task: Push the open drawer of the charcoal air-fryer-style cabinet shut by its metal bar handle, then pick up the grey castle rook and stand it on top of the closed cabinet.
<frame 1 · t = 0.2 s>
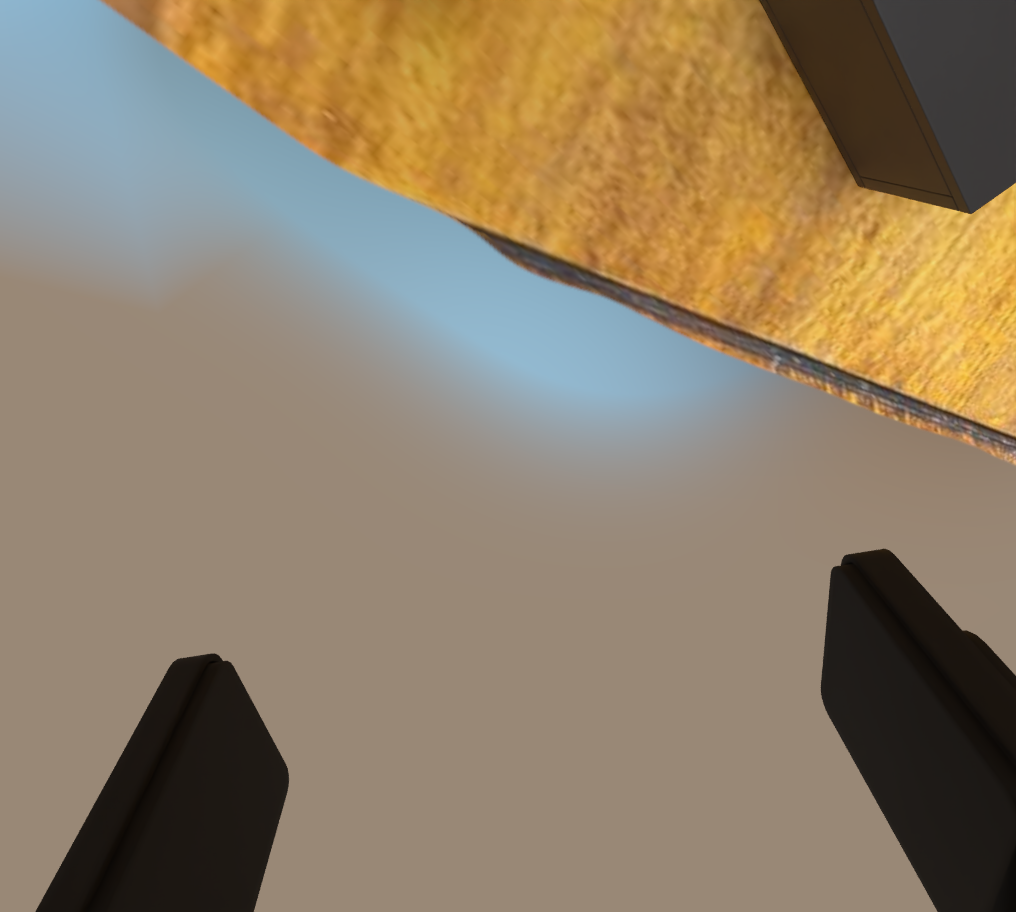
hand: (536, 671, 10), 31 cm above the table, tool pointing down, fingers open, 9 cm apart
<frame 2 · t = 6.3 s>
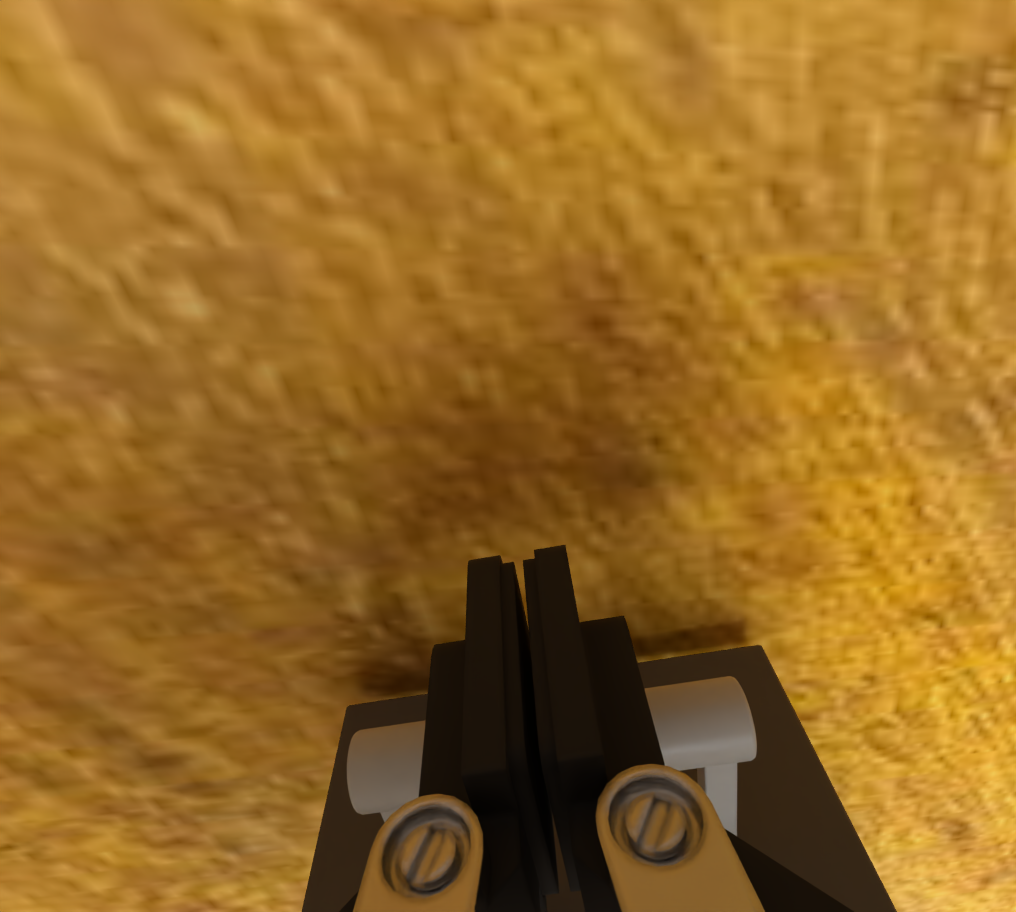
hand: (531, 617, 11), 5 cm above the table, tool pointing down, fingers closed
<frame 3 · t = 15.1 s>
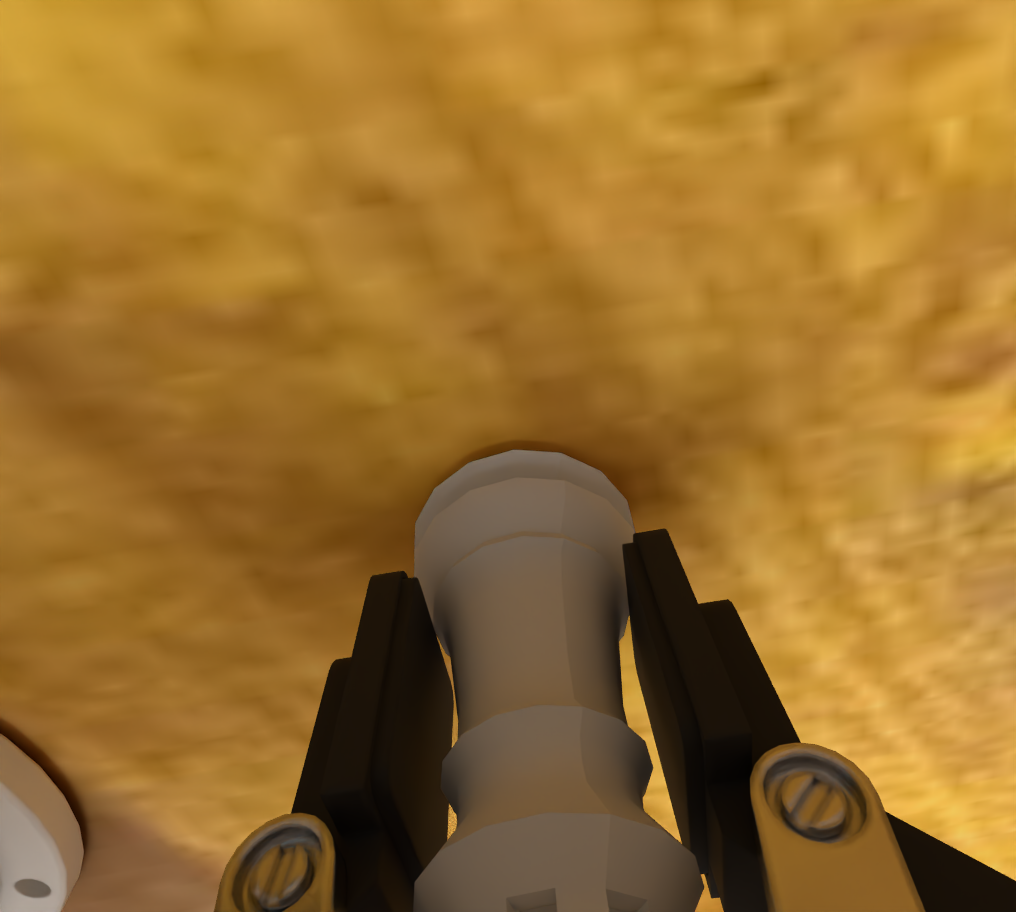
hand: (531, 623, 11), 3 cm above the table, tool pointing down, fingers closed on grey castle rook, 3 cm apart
grey castle rook: (523, 527, 14), on the table, touching gripper
when the fingers open (12 cm above the table, at t = 20.7 s): grey castle rook stays where it is, resting on cabinet.
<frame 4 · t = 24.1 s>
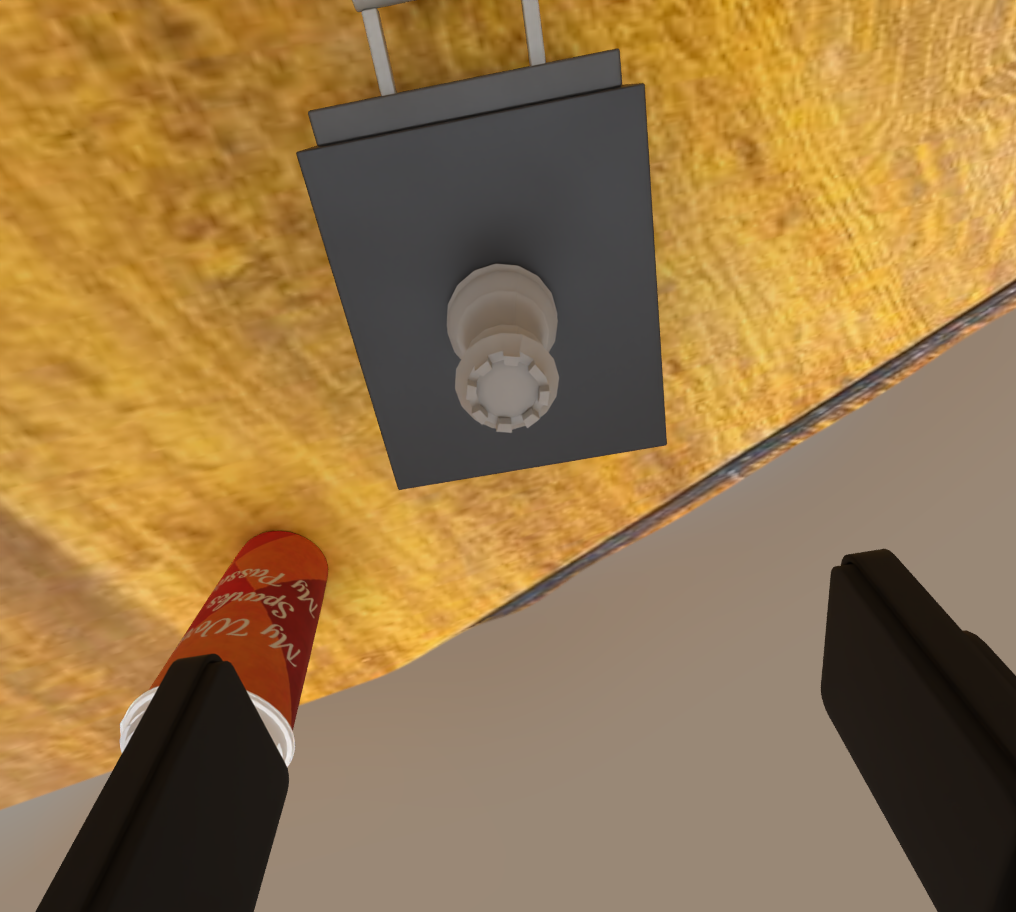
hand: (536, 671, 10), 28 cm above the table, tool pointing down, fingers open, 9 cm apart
coffee cup: (283, 564, 44), on the table
drawer: (485, 199, 29), point 5 cm above the table, slide at 0.0 cm, touching cabinet
cabinet: (498, 263, 35), on the table
grey castle rook: (501, 314, 27), point 9 cm above the table, touching cabinet
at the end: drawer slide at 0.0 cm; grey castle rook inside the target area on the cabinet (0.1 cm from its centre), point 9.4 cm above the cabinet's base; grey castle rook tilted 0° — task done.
